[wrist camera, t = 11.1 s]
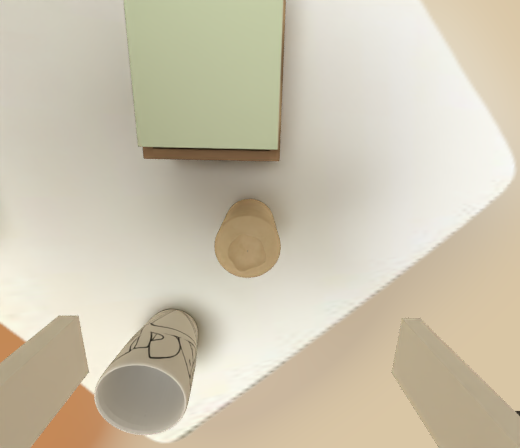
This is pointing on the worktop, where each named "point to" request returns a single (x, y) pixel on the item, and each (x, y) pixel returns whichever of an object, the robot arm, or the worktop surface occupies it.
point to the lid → (205, 72)
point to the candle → (248, 239)
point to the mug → (151, 376)
